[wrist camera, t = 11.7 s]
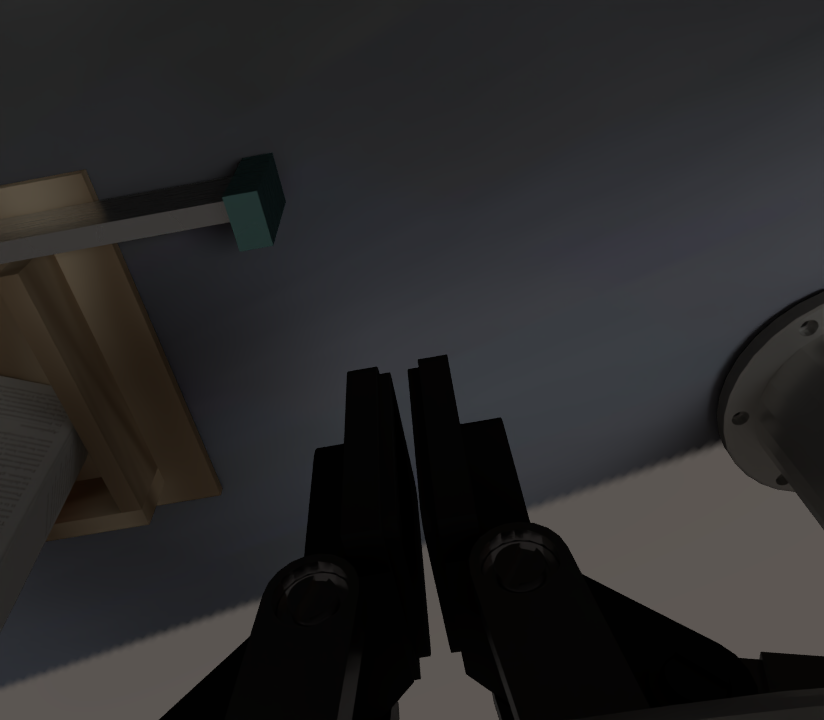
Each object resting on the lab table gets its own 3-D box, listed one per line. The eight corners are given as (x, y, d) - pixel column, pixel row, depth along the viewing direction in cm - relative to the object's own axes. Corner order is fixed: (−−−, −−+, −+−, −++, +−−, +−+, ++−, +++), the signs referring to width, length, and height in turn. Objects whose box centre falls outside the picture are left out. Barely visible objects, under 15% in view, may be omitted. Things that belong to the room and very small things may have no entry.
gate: (272, 152, 27) (256, 190, 23) (285, 201, 28) (273, 245, 24) (-14, 206, 28) (-75, 251, 24) (10, 252, 29) (-44, 302, 25)
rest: (85, 169, 28) (52, 198, 25) (222, 488, 37) (209, 537, 34) (-246, 231, 28) (-317, 267, 25) (-29, 530, 38) (-62, 582, 35)
